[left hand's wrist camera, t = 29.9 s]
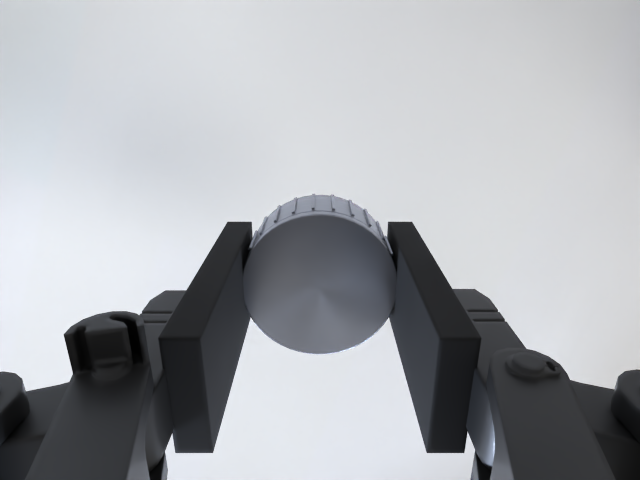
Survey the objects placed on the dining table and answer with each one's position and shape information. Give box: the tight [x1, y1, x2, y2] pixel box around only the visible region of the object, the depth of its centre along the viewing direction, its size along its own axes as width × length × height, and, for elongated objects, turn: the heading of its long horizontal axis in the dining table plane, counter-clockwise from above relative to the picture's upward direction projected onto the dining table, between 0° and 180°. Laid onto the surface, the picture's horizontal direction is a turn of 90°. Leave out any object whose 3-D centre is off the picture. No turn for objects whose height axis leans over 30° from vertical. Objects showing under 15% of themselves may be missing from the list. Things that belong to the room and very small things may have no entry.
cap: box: [243, 194, 397, 354], centre depth 14 cm, size 4×4×2 cm
